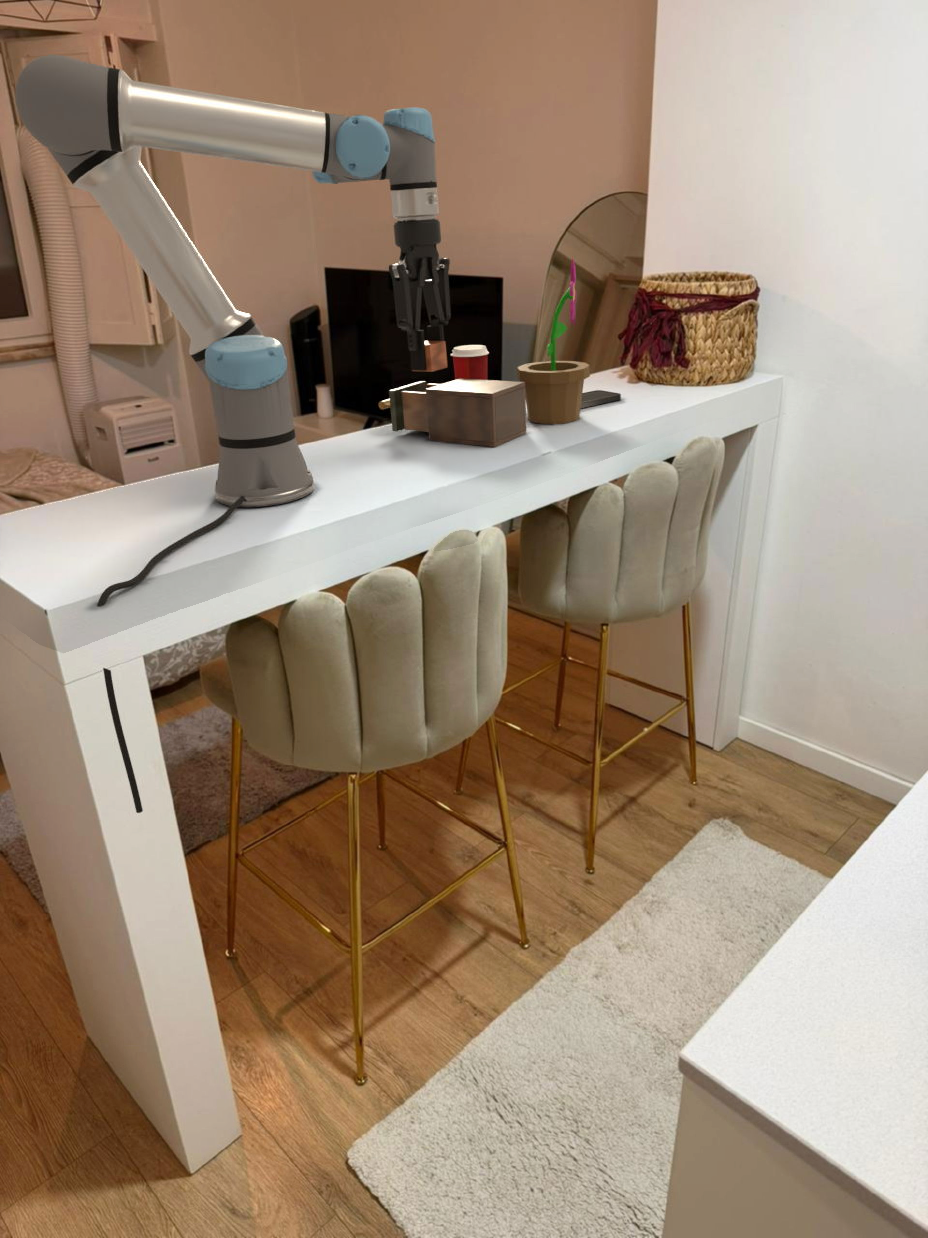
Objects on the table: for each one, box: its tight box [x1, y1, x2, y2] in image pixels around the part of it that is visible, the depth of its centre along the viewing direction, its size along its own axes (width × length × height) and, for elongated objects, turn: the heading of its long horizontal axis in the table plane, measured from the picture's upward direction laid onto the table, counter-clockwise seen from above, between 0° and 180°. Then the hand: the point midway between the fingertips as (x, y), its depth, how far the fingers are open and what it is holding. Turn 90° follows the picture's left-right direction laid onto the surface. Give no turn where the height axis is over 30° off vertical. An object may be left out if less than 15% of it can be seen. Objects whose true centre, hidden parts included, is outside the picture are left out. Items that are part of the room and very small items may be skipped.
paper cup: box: [450, 344, 490, 380], centre depth 182 cm, size 8×8×14 cm
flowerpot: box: [516, 257, 591, 425], centre depth 173 cm, size 14×14×30 cm
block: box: [411, 340, 448, 373], centre depth 152 cm, size 4×4×4 cm
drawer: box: [378, 380, 441, 433], centre depth 173 cm, size 18×10×8 cm, turn 56°
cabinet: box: [426, 378, 527, 448], centre depth 166 cm, size 15×12×10 cm
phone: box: [580, 389, 622, 409], centre depth 191 cm, size 8×1×15 cm
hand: (428, 366), depth 152 cm, fingers closed on block, 4 cm apart
